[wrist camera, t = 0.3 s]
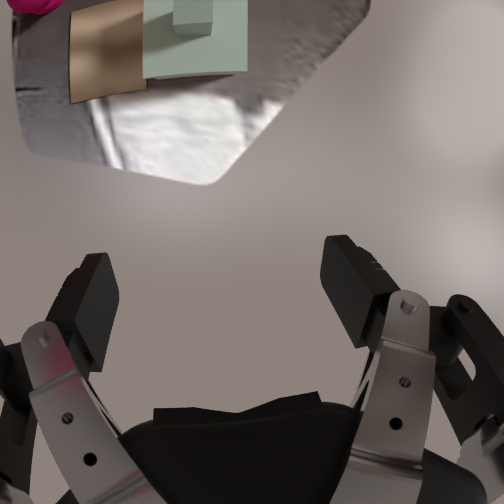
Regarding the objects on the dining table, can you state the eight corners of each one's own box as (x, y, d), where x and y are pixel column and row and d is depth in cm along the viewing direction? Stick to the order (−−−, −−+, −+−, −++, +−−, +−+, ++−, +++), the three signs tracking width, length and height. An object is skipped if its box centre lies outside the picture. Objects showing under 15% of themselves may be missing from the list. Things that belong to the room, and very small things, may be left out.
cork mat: (73, 13, 21) (71, 12, 21) (147, -5, 23) (147, -6, 22) (72, 103, 28) (71, 103, 28) (146, 89, 29) (146, 89, 29)
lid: (148, -11, 19) (135, -37, 12) (244, -16, 20) (256, -44, 14) (147, 79, 24) (130, 74, 18) (244, 73, 25) (256, 66, 19)
